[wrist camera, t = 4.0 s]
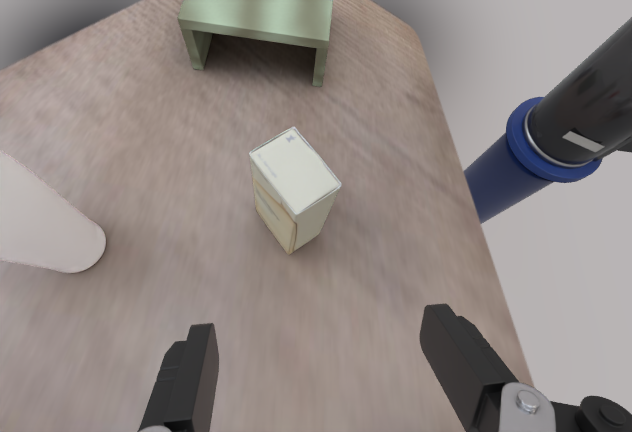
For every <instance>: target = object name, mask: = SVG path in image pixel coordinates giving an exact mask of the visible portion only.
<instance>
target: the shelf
mask: <svg viewBox="0 0 632 432" xmlns="http://www.w3.org/2000/svg"><path fill="white" fill-rule="evenodd" d="M332 5H333V0H183V3H182V6H181V9H180V12H179V15H178V22H179V25H180V28H181V31H182V34H183V37H184V40H185V43H186V47H187V50H188V53H189V56H190V59H191V62H192V65H193V68H194V69H198V70H203V69H204V65H205V61H206V58H207V54H208V50H209V46H210V42H211V39H212V35H213V33H217V34H224V35H231V36H237V37H244V38H251V39H258V40H265V41H271V42H278V43H285V44H292V45H299V46H305V47H312V48H316V57H315V66H314V75H313V84H312V86H319V87H322V82H323V76H324V69H325V63H326V57H327V51H328V45H329V37H330V26H331V16H332Z"/></svg>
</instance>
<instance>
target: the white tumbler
mask: <svg viewBox="0 0 632 432" xmlns="http://www.w3.org/2000/svg"><path fill="white" fill-rule="evenodd" d="M105 246H106V237H105V234H104V232H103V230H102V228H101V227H100V226H99V225H98V224H96V223H95V222H93V221H92V220H90V219H89V218H87V217H86V216H85V215H84V214H82V213H81V212H80V211H79V210H78V209H76V208H75V207H74V206H73V205H72V204H70V203H69V202H68V201H67V200H66V199H64V198H63V197H62V196H61V195H60V194H59V193H57V192H56V191H55V190H54V189H53V188H52V187H50V186H49V185H48V184H47V183H46V182H45V181H43V180H42V179H41V178H40V177H39V176H37V175H36V174H35V173H34V172H32V171H31V170H30V169H28V168H27V167H26V166H24V165H23V164H22V163H20V162H19V161H17V160H16V159H14V158H13V157H11V156H10V155H8V154H7V153H5V152H3V151H2V150H0V260H1V261H7V262H13V263H19V264H25V265H31V266H36V267H42V268H47V269H52V270H55V271H59V272H63V273H76V272H81V271H83V270H86V269H88V268H90V267H91V266H93V265H94V264H95V263H96V262H97V261H98V260H99V259H100V258H101V256H102V254H103V252H104V250H105Z"/></svg>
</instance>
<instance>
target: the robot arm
mask: <svg viewBox="0 0 632 432" xmlns="http://www.w3.org/2000/svg"><path fill="white" fill-rule="evenodd" d="M522 131H523V135H524V138H525V140H526V142H527V144H528V145H529V147H530V148H531V149H532V151H533V152H534V153H535V154H536V155H537V156H539V157H540V158H541V159H542V160H544V161H546V162H547V163H549V164H551V165H553V166H556V167H560V168H565V169H575V168H579V167H582V166H584V165H586V164H587V163H589V162H591V161H595V162H596V161H598V160H600V159H602V158H603V157H605V156H607V155H609V154H610V153H612V152H614V151H616V150H618V151H626V152H632V17H631V18H630V19H629V20H628V21H627V22H626V23H625V24H624V25H622V26H621V27H620V28H619V29H618V30H617V31H616V32H615V33H614V34H613V35H612V36H611V37H609V38H608V39H607V40H606V41H605V42H604V43H603V44H602V45H601V46H600V47H599V48H597V49H596V50H595V51H594V52H593V53H592V54H591V55H590V56H589V57H588V58H587V59H585V60H584V61H583V62H582V63H581V64H580V65H579V66H578V67H577V68H576V69H575V70H574V71H572V72H571V73H570V74H569V75H568V76H567V77H566V78H565V79H564V80H563V81H562V82H560V83H559V85H557V86H556V87H555V88H554V89H553V90H552V91H551V92H549V94H547V95H546V96H545V97H544V98H543V99H542V100H541V101H540V102H539V103H538V104H536V105H534V106H533V107H532V108H531V109H530V110H529V111H528V112H527V113H526V114H525V116H524V118H523V121H522ZM420 344H421V348H422V351H423V353H424V355H425V356H426V358H427V360H428V362H429V364H430V366H431V368H432V369H433V371H434V373H435V375H436V377H437V379H438V381H439V382H440V384H441V386H442V388H443V390H444V392H445V394H446V395H447V397H448V399H449V401H450V403H451V405H452V407H453V408H454V410H455V412H456V414H457V416H458V418H459V420H460V421H461V423H462V425H463V427H464V429H465V431H466V432H632V415H631V414H630V413H629V412H628V411H627V410H626V409H624V408H623V407H622V406H620V405H618V404H617V403H615V402H613V401H611V400H609V399H606V398H603V397H599V396H587V397H585V398H584V399H583V400H582V402H581V404H580V406H573V405H568V404H562V403H557V402H552V401H549V400H548V399H547V398H546V397H545V396H544V395H543V394H542V393H541V392H539V391H538V390H537V389H535V388H533V387H531V386H529V385H527V384H524V383H520V382H519V381H518V380H517V379H516V377H515V376H514V375H513V374H512V372H511V371H510V370H509V369H508V367H507V366H506V365H505V364H504V362H503V361H502V360H501V358H500V357H499V356H498V355H497V353H496V352H495V351H494V350H493V348H492V347H490V344H489V343H488V342H487V341H486V339H485V338H483V336H482V334H481V333H480V332H479V331H478V329H477V328H476V327H475V325H473V324H472V323H471V322H469V321H468V320H467V319H465V318H464V317H462V316H456V315H455V313H454V312H453V311H452V309H451V308H450V307H449V306H448V305H447V304H435V305H427V306H426V307H425V309H424V314H423V320H422V325H421V331H420ZM218 372H219V353H218V347H217V340H216V334H215V327H214V324H213V323H208V324H197V325H191V327H190V330H189V333H188V337H187V341H177V342H175V343H174V344H173V345H172V346H171V348H170V349H169V350H168V351H167V352H166V354H165V356H164V359H163V362H162V365H161V367H160V371H159V373H158V376H157V381H156V382H155V385H154V388H153V391H152V394H151V396H150V399H149V402H148V405H147V408H146V411H145V414H144V417H143V420H142V423H141V425H140V428H139V430H138V432H209V431H210V424H211V418H212V411H213V405H214V398H215V391H216V385H217V378H218Z"/></svg>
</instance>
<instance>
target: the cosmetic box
mask: <svg viewBox="0 0 632 432" xmlns="http://www.w3.org/2000/svg"><path fill="white" fill-rule="evenodd" d="M249 156H250V162H251V171H252V179H253V187H254V196H255V204H256V211H257V213H258V214H259V215H260V217H261V218H262V220H263V221H264V223H265V224H266V225H267V227H268V228H269V230H270V231H271V232H272V234H273V235H274V236H275V238H276V239H277V241H278V242H279V243H280V245H281V246H282V247H283V249H284V250H285V251H286V253H287V254H288V255H289V254H291V253H292V252H294V251H295V250H297V249H298V248H300V247H301V246H303V245H304V244H306V243H307V242H309V241H310V240H311V239H313V238H314V237H316V236H317V235H318V234H319V233H320V231H321V229H322V227H323V225H324V222H325V220H326V218H327V216H328V214H329V211H330V209H331V207H332V205H333V203H334V200H335V198H336V196H337V194H338V192H339V190H340V188H341V182H340V181H339V180H338V179H337V177H336V176H335V175H334V174H333V172H332V171H331V170H330V169H329V167H328V166H327V165H326V164H325V162H324V161H323V160H322V159H321V157H320V156H319V155H318V154H317V153H316V152H315V150H314V149H313V148H312V147H311V146H310V144H309V143H308V142H307V141H306V140H305V139H304V137H303V136H302V135H301V134H300V133H299V132H298V131H297V129H296V128H295V127H292V128H290V129H288V130H286V131H285V132H283V133H281V134H279V135H277V136H276V137H274V138H272V139H271V140H269V141H267V142H265V143H264V144H262V145H260V146H259V147H257V148H255V149H254V150H252V151H251V152H250V153H249Z"/></svg>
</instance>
